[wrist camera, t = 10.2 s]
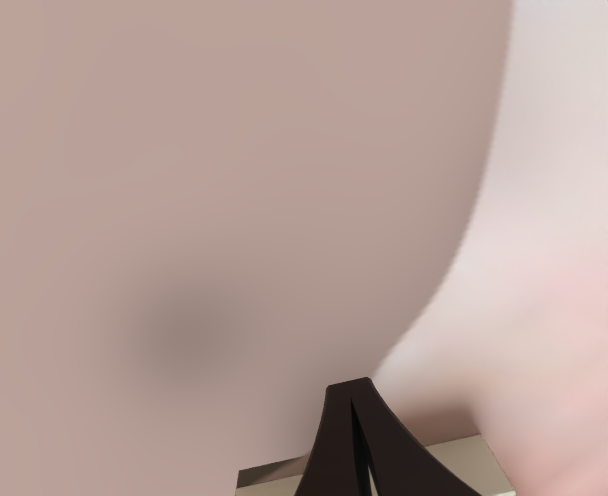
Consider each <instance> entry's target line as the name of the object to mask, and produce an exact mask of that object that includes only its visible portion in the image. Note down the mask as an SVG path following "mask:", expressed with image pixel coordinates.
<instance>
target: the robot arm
mask: <svg viewBox="0 0 608 496" xmlns="http://www.w3.org/2000/svg"><path fill="white" fill-rule="evenodd" d="M368 466H369V468H368ZM369 470H370V473H371V476H372V479H373V482H374V485H375V488H376V491H377V495H378V496H482V495H481V494H479V493H478V492H477V491H475V490H474V489H473V488H471V487H470V486H469V485H467V484H466V483H465V482H463V481H462V480H461V479H459V478H458V477H457V476H456V475H455V474H453V473H452V472H451V471H450V470H449V469H448V468H446V467H445V466H444V465H443V464H442V463H441V462H440V461H438V460H437V459H436V458H435V457H434V456H433V455H432V454H431V453H430V452H429V451H428V450H427V449H426V448H425V447H424V446H423V445H421V444H420V443H419V441H418V440H417V439H416V438H415V437H414V436H413V435H412V434H411V433H410V432H409V431H408V430H407V429H406V428H405V426H404V425H403V424H402V423H401V422H400V421H399V419H398V418H397V417H396V416H395V415H394V413H393V412H392V411H391V410H390V408H389V407H388V406H387V404H386V403H385V402H384V400H383V399H382V397H381V396H380V394H379V393H378V391H377V390H376V388H375V386H374V385H373V383H372V380H371V379H370V378H368V377H364V378H360V379H356V380H351V381H346V382H342V383H338V384H333V385H329V386H328V387H327V389H326V396H325V402H324V408H323V413H322V417H321V422H320V425H319V429H318V432H317V436H316V440H315V443H314V446H313V449H312V451H311V454H310V457H309V460H308V463H307V466H306V468H305V471H304V473H303V476H302V478H301V481H300V483H299V485H298V487H297V490H296V492H295V494H294V496H372V491H371V483H370V475H369Z"/></svg>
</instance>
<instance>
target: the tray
mask: <svg viewBox="0 0 608 496" xmlns="http://www.w3.org/2000/svg"><path fill="white" fill-rule="evenodd" d="M425 448H426V449H427V450H428V451H429V452H430V453H431V454H432V455H433V456H434V457H435V458H436V459H437V460H438V461H440V462H441V463H442V464H443V465H444V466H445V467H446V468H448V469H449V470H450V471H451V472H452V473H453V474H455V475H456V476H457V477H458V478H459V479H461V480H462V481H463V482H465V483H466V484H467V485H469V486H470V487H471V488H473V489H474V490H475V491H477V492H478V493H479V494H481V495H482V496H516V494H515V490H514V488H513V486H512V485H511V483H510V481H509V480H508V478H507V476H506V475H505V473H504V471H503V470H502V468H501V466H500V465H499V463H498V462H497V460H496V458H495V457H494V455H493V453H492V452H491V450H490V448H489V447H488V445H487V443H486V442H485V440H484V438H483V437H482V435H481V434H480V435H475V436H471V437H466V438H462V439H457V440H453V441H448V442H444V443H439V444H435V445H430V446H426V447H425ZM301 457H302V456H301ZM301 457H297V458H292V459H288V460H283V461H279V462H275V463H270V464H266V465H261V466H257V467H252V468H248V469H243V470H239V473H238V479H237V486H236V493H235V496H294V494H295V492H296V490H297V487H298V485H299V483H300V481H301V478H302V476H303V474H300V475H295V476H291V477H287V478H282V479H278V480H273V481H269V482H264V483H260V484H255V483H257V482H259V481H261V480H263V479H264V478H266V477H268V476H269V475H271V474H273V473H274V472H276V471H277V470H279V469H281V468H282V467H284V466H286V465H288V464H290V463H292V462H294V461H296V460H297V459H299V458H301ZM368 468H369V466H368ZM369 475H370V483H371V491H372V496H378V495H377V491H376V488H375V485H374V482H373V479H372V476H371V473H370V470H369ZM254 484H255V485H254Z"/></svg>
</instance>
